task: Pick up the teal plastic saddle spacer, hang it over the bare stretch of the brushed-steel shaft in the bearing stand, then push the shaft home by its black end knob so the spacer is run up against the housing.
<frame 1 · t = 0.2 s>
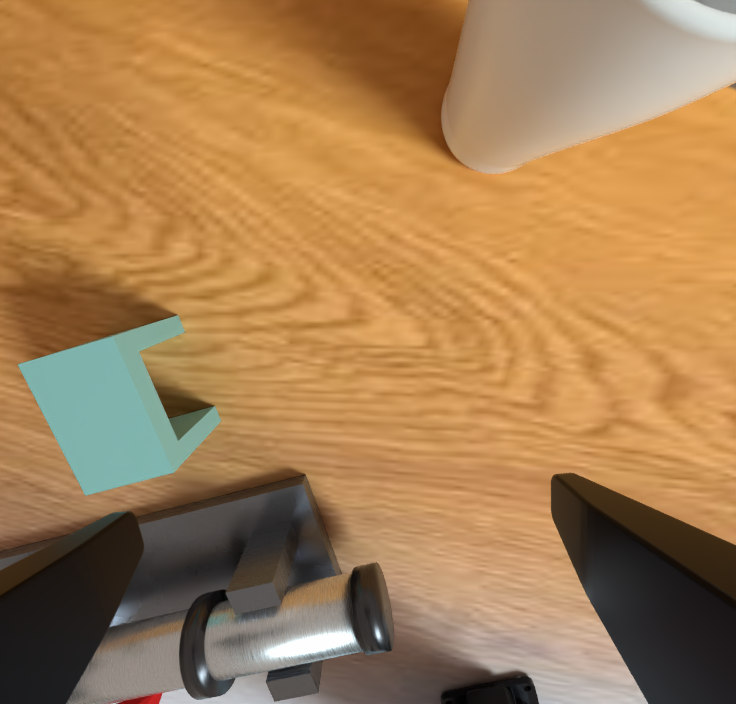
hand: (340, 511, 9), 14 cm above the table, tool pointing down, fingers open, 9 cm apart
spacer: (164, 380, 23), on the table
bearing stand: (164, 594, 27), on the table
drinking glass: (492, 119, 20), on the table
shaft: (182, 647, 22), point 5 cm above the table, slide at 0.0 cm
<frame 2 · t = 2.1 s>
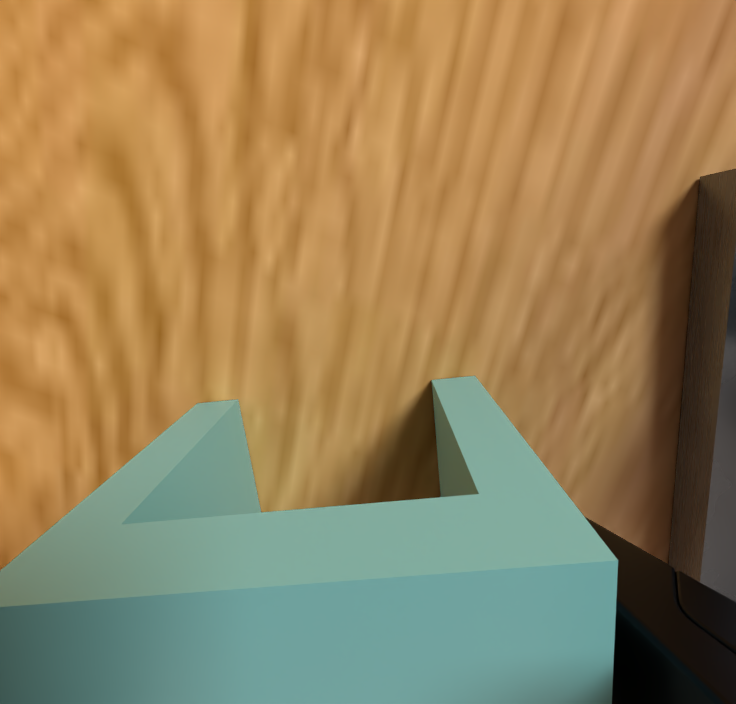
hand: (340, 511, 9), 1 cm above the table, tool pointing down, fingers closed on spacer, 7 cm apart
spacer: (345, 474, 10), on the table, touching gripper
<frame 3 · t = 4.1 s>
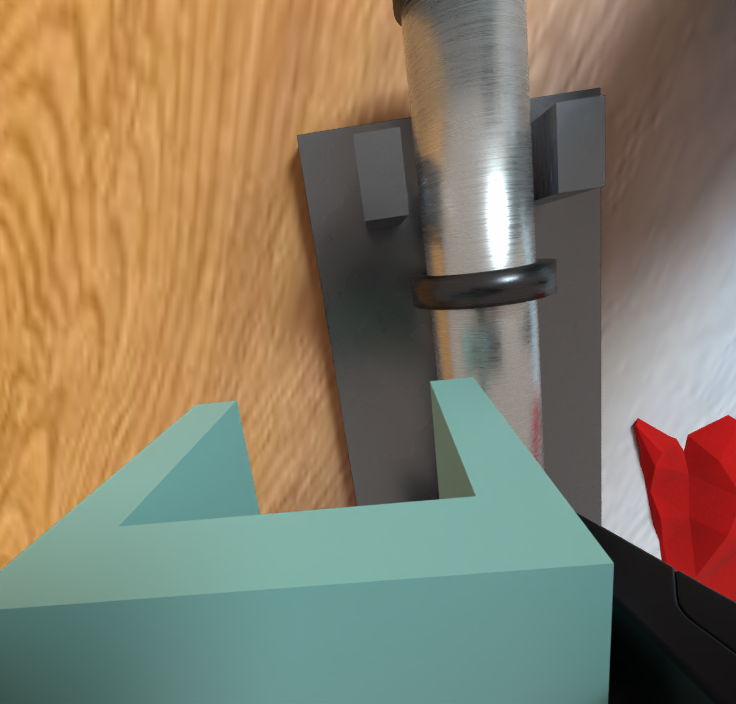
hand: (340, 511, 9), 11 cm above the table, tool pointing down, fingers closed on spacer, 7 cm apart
spacer: (344, 476, 10), point 10 cm above the table, touching gripper
bearing stand: (464, 389, 20), on the table
shaft: (484, 336, 14), point 4 cm above the table, slide at 0.0 cm
when the fingers open (4 cm above the table, at t = 6.5 s): spacer stays where it is, resting on shaft.
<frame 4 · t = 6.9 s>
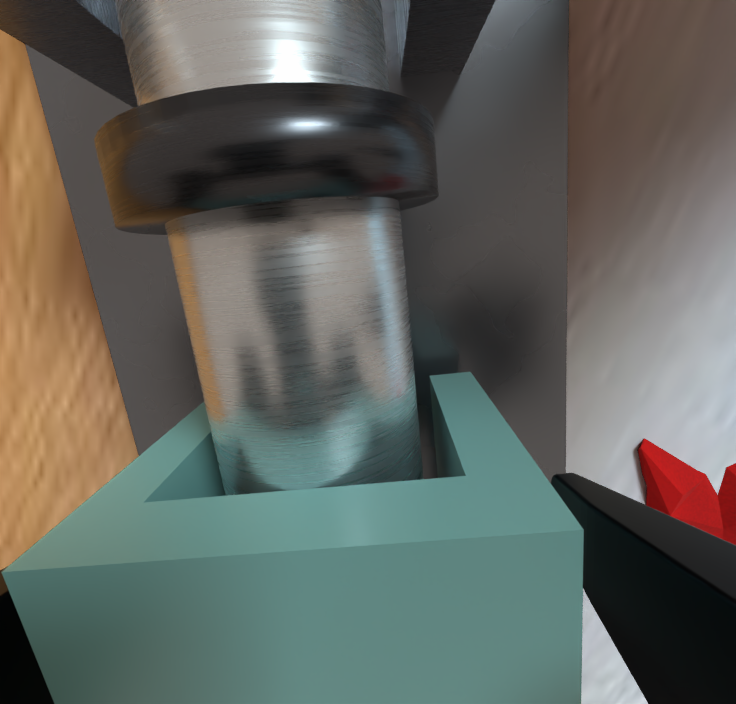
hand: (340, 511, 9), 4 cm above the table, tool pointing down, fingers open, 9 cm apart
spacer: (348, 465, 11), point 2 cm above the table, touching shaft
bearing stand: (346, 403, 12), on the table
shaft: (300, 303, 7), point 5 cm above the table, slide at 0.0 cm, touching spacer
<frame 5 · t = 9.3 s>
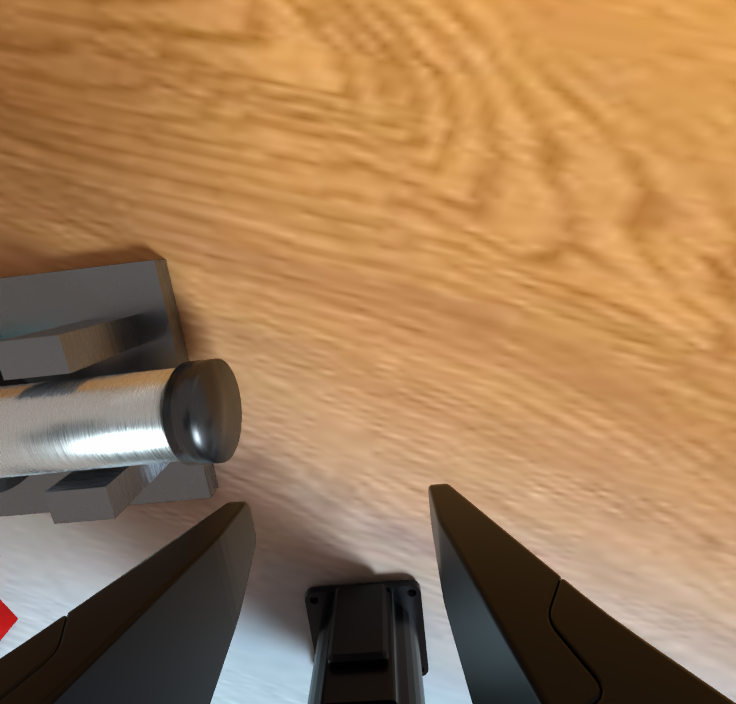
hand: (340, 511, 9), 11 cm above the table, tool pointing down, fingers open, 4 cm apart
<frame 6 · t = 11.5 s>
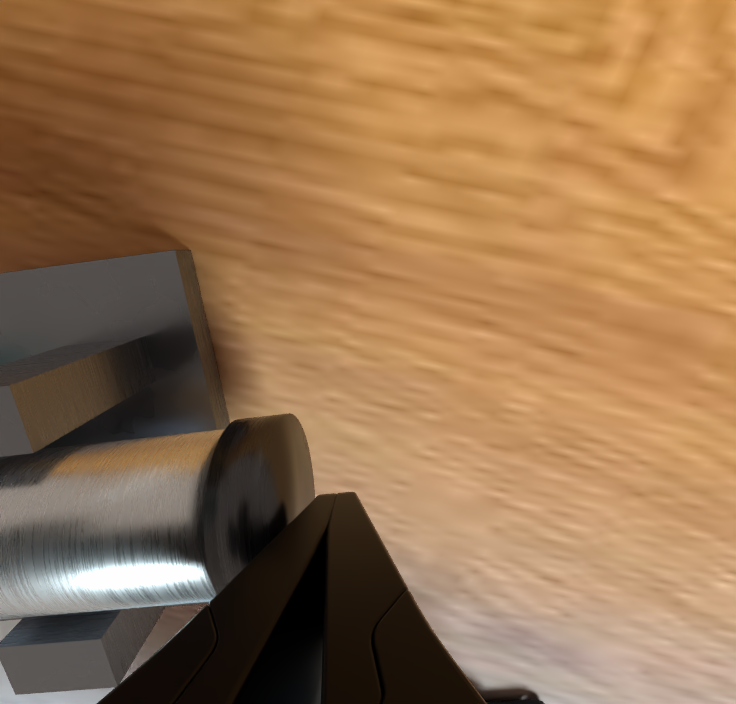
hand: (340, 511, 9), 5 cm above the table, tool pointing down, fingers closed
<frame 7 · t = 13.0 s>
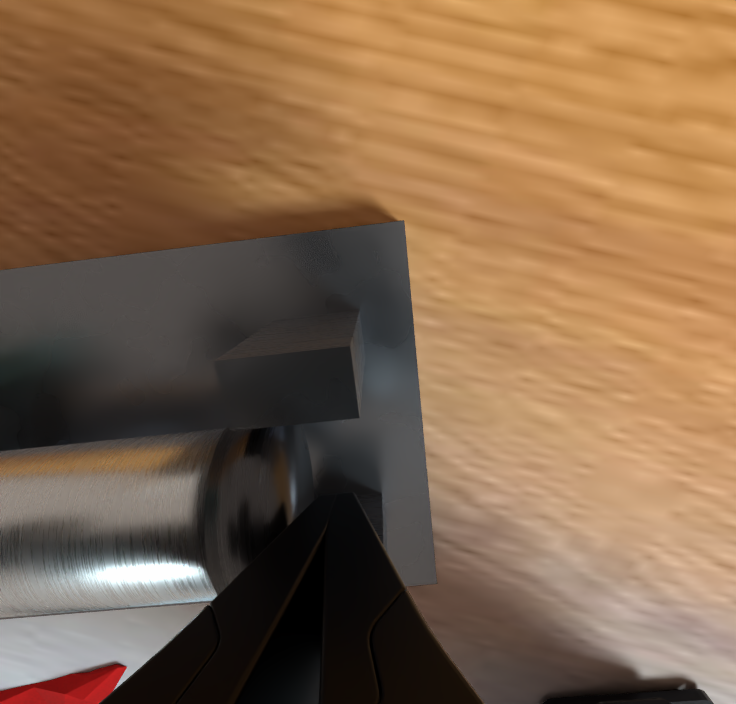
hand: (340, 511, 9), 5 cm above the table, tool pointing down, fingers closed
bearing stand: (72, 445, 14), on the table
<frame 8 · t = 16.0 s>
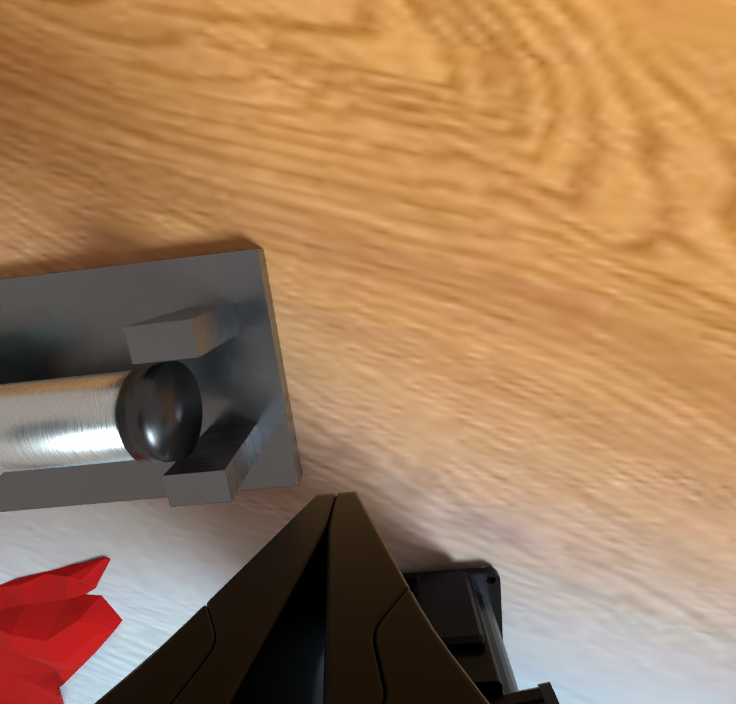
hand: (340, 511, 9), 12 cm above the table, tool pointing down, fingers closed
bearing stand: (58, 393, 21), on the table
cloth: (17, 665, 27), on the table
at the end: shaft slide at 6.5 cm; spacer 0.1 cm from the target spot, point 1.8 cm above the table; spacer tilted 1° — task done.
